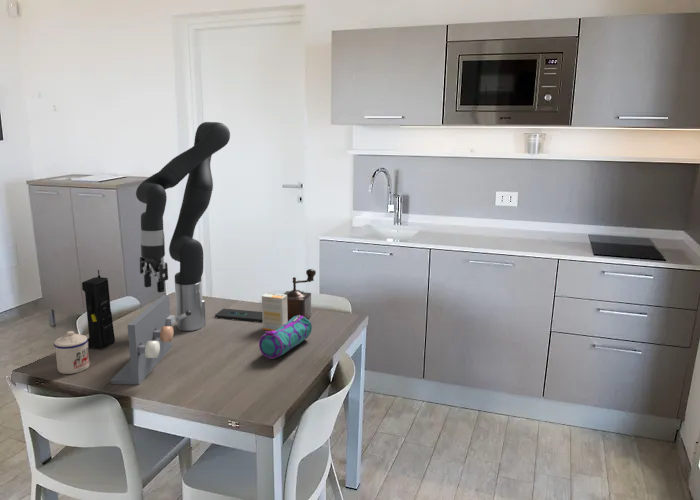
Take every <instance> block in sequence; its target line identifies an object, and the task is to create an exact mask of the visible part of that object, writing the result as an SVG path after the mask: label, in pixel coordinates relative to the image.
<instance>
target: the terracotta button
mask: <svg viewBox="0 0 700 500" xmlns="http://www.w3.org/2000/svg"><path fill="white" fill-rule="evenodd" d="M174 334H175V333H174V327H173V325H172V326H163V327H162V328H161V330H154V331H153V338H160V340H161V342H171V341H172V342H173V338H174Z"/></svg>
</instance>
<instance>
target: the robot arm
mask: <svg viewBox="0 0 700 500" xmlns="http://www.w3.org/2000/svg"><path fill="white" fill-rule="evenodd" d="M230 138H231V132H230V129H229V127H228V126H227V125H226V124H224V123H222V122H218V121H204V122H202V123H200V124H199V125H198V127H197V128H196V131H195V136H194V142H193V146H192V147H190V148H189V149H187V150H185V151H183V152H181V153H179V154H178V155H177V156H175V157H174V158H172V159H171V160H170V161H168V163H166V164H165V165H164V166H163V167H162V168H161V169H160V170H159V171H158V172H156V173H154V174H152V175H150V176H149V177H148V178H146V179H145V180H143V181H142V182H141V183H140V184H138V186H137V188H136V191H135V195H136V198H137V200H138V201H139V202H140V203H142V204H146V207H145V211H144V212H142V213H141V215H140V257H139V273H140V275H142V277H143V284H144V285H143V286H144V288H151V286H152V276H154V277H155V279H156V292H158V293H164V292H165V281H169V273H168V272H169V270H168V262H163V261H162V258H164V257H165V254H166V252H165V249H166V247H165V245H166V243H165V231H164V214H165V210H166V206H167V198H168V197H167V192H166V190H168V189H171V188H175V187H176V186H177V185H178V184H179V183H180V182H181V181H183V179H184V178H185V177H187V180H186V185H185V188H184V193H183V196H182V202H181V205H180V209H179V215H178V218H177V223H176V225H175V228H174V230H173V234H172V236H171V239H170V242H169V247H168V251H169V256H170V258H171V259H172V260H174V261H175V262H178V263H179V272H176V273H175V274H174V289H175V290H174V293H175V294H174V295H175V307H176V308H175V309H176V317H178V316H180V315H182V314H184V313H185V312H186V311H188V310H189V311H191V315H190V316H186V317H184V318H182V319H180V320H179V321H176V326H177V329H178V330H179V331H184V332H188V331H189V332H190V331H197V330H200V329H201V328H203V327H204V326H206V325H207V324H206V323H207V322H206V320H207V319H206V303H205V300H204V299H203V289H202V287H203V286H202V284H203V283H202V276H203V274H204V249H203V245H202V244H201V242H200V241H199V240H198V239H196V238H195V239H194V234H195V230H196V226H197V224H198V222H199V221H200V219H201V218H202V216H203V215H204V213H205V212H206V210H208V207H209V205H210V202H211V198H212V193H213V189H214V181H213V177H212V176H213V175H212V174H213V173H212V170H211V161H212V155H214V154H216V153H217V152H218V151H220V150H222V149H223V148H224V147H226V146H227V144H228V143H229V142H230ZM187 175H188V176H187ZM151 275H152V276H151Z"/></svg>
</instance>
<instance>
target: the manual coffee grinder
mask: <svg viewBox="0 0 700 500" xmlns="http://www.w3.org/2000/svg"><path fill="white" fill-rule="evenodd" d="M305 274H306V275H307V279H306V280H297V277H295V276H294V277H292V283H293V284H292V285H293V287H292V290H287V291H285V292H284V293H283V294H284V295H287V313H288V321H289V319H292V318H293V317H294V316H297V315H300V316H303V317H305V318H306V319H310V318H311V317H310V315H311V316H312V293H311V292H305V291H304V290H303V291H301V290H300V289H297V285H296V284H301V283H311V282H314V277H315V276H316V274H317V273H316V270H315V269H313V268H308V269H307V270H306V271H305Z"/></svg>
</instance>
